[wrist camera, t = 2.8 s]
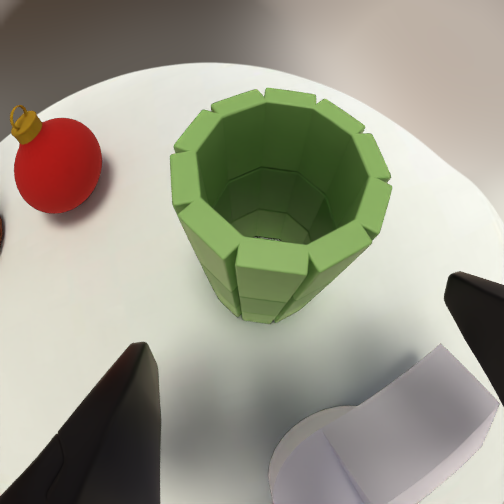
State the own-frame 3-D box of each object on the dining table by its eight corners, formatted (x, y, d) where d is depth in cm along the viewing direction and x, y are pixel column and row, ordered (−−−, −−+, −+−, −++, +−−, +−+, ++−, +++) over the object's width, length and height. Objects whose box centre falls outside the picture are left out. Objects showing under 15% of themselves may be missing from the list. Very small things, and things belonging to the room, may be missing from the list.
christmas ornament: (59, 156, 23) (6, 82, 13) (125, 151, 23) (80, 59, 13) (34, 227, 20) (-41, 165, 11) (102, 230, 20) (27, 150, 11)
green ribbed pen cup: (331, 291, 19) (429, 207, 8) (240, 341, 18) (229, 321, 7) (282, 211, 21) (313, 72, 10) (195, 253, 20) (140, 132, 9)
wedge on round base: (413, 346, 18) (243, 448, 16) (475, 337, 12) (241, 492, 9) (454, 439, 15) (304, 537, 13) (512, 454, 9) (324, 592, 7)
